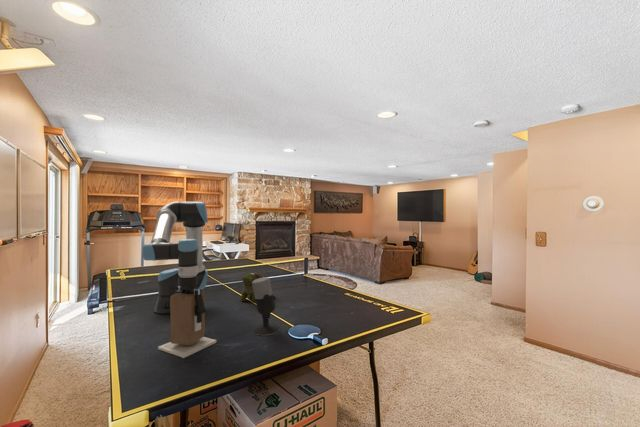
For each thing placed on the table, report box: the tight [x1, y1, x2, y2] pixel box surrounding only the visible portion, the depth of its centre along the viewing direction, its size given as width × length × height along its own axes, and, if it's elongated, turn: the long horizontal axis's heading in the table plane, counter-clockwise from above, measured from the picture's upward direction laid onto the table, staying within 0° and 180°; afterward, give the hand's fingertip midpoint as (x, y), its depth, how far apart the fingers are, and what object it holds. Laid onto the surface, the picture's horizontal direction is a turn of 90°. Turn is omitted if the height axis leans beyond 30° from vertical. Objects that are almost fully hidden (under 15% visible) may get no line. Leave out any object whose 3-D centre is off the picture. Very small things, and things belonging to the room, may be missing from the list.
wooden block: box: [169, 290, 206, 345], centre depth 125 cm, size 10×10×20 cm
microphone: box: [251, 276, 280, 337], centre depth 141 cm, size 13×13×25 cm
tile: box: [157, 336, 217, 359], centre depth 125 cm, size 16×16×1 cm
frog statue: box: [240, 272, 264, 303], centre depth 194 cm, size 19×16×25 cm
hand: (188, 327), depth 125 cm, fingers closed on wooden block, 11 cm apart
